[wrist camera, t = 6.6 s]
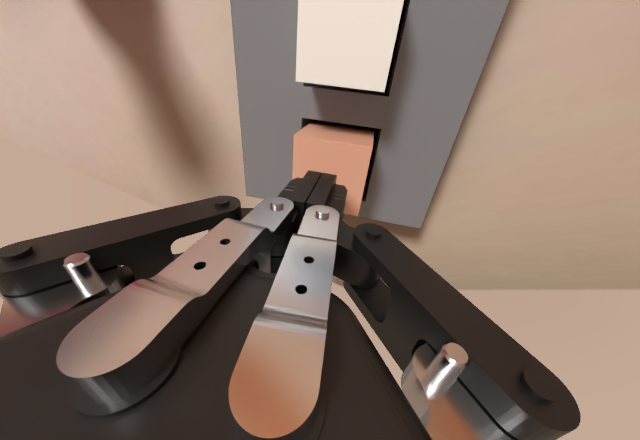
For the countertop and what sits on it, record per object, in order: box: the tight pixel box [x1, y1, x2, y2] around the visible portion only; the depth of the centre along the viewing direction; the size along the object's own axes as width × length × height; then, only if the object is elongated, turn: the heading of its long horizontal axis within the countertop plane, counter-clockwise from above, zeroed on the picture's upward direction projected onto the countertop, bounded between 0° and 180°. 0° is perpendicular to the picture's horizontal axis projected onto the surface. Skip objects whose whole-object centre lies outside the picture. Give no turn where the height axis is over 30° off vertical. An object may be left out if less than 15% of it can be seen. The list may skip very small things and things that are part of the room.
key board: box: [230, 0, 510, 228], centre depth 14 cm, size 14×22×3 cm, turn 174°
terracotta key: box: [292, 122, 374, 216], centre depth 16 cm, size 4×4×4 cm
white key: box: [296, 0, 404, 92], centre depth 12 cm, size 4×4×4 cm
